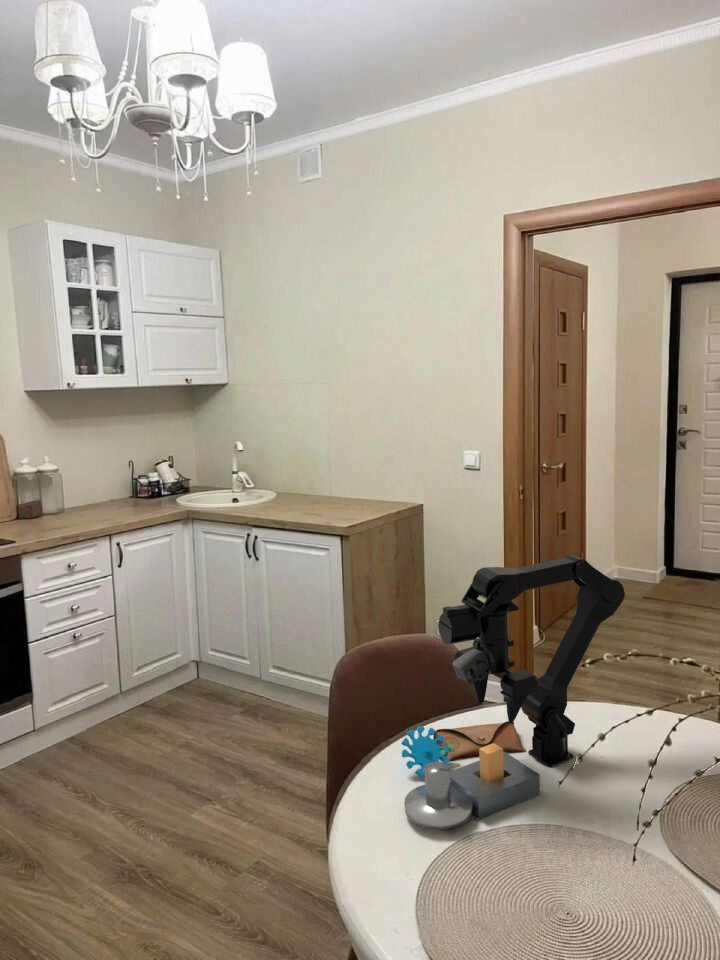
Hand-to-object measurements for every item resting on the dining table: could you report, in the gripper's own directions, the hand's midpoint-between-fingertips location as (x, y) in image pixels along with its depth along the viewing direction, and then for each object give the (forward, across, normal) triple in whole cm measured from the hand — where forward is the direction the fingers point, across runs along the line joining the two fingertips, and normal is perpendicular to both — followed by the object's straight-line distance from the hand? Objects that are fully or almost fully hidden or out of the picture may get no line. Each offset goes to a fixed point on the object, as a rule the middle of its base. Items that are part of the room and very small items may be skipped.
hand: (495, 712), depth 144 cm
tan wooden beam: (+12, +6, -6) cm, 15 cm away
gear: (+12, -8, -11) cm, 18 cm away
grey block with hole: (+12, +6, -12) cm, 18 cm away
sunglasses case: (+13, -9, +3) cm, 16 cm away
